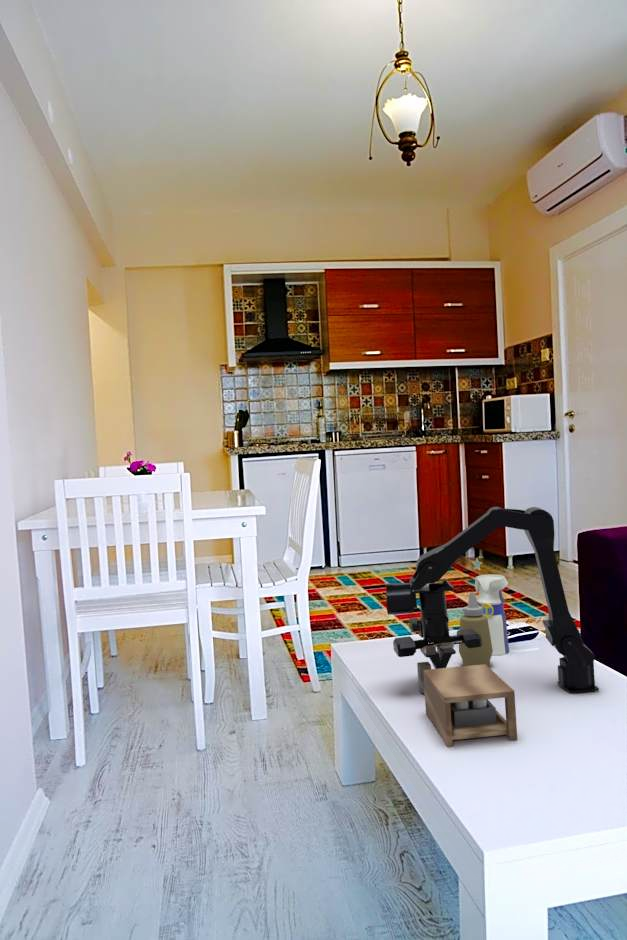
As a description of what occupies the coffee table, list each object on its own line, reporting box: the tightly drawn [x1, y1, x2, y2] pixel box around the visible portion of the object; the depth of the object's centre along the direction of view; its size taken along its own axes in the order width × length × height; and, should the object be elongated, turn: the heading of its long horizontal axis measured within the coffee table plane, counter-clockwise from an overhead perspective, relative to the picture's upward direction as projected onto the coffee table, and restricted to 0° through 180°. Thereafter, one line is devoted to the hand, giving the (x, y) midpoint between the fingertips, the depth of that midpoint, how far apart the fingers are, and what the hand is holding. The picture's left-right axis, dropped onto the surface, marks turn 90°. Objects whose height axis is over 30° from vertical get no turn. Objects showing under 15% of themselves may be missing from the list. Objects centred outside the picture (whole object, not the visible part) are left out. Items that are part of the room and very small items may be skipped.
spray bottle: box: [471, 557, 510, 657], centre depth 177 cm, size 8×9×25 cm
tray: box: [450, 699, 497, 728], centre depth 132 cm, size 8×6×4 cm
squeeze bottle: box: [458, 591, 493, 667], centre depth 167 cm, size 8×8×18 cm
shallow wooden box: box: [416, 661, 507, 741], centre depth 140 cm, size 11×27×6 cm, turn 5°
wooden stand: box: [423, 664, 518, 748], centre depth 132 cm, size 13×16×9 cm
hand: (440, 680), depth 152 cm, fingers closed
